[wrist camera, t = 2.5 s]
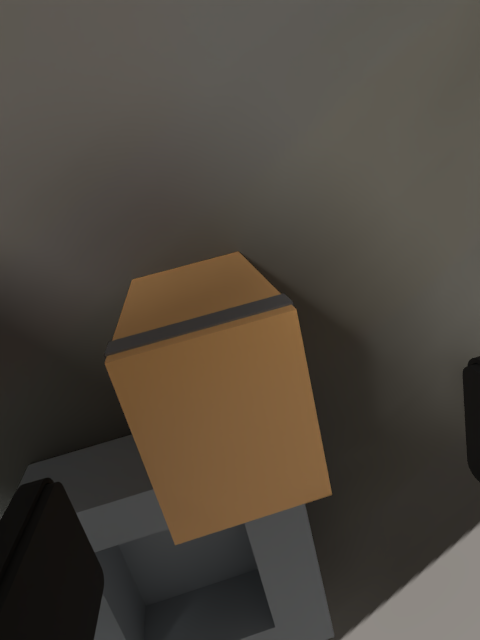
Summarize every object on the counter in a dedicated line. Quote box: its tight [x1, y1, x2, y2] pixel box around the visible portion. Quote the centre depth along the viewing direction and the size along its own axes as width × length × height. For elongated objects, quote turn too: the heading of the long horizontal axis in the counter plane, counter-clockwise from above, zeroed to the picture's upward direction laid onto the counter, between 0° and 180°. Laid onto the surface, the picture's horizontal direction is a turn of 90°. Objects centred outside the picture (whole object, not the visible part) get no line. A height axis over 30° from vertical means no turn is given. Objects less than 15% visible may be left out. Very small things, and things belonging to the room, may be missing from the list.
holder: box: [16, 434, 335, 640], centre depth 19 cm, size 11×11×4 cm
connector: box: [104, 251, 332, 545], centre depth 14 cm, size 6×4×8 cm
